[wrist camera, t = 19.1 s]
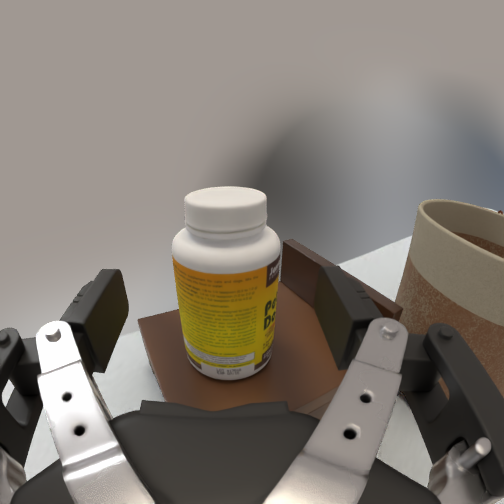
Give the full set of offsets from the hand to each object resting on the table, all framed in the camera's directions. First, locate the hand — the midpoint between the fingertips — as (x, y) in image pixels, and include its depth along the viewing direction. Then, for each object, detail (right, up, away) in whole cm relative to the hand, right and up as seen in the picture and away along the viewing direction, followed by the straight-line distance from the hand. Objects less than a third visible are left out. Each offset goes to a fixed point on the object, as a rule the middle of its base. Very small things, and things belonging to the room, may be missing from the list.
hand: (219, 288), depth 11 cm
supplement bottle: (0, -5, +7) cm, 9 cm away
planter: (+21, -10, +10) cm, 25 cm away
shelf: (+1, -9, +10) cm, 14 cm away
